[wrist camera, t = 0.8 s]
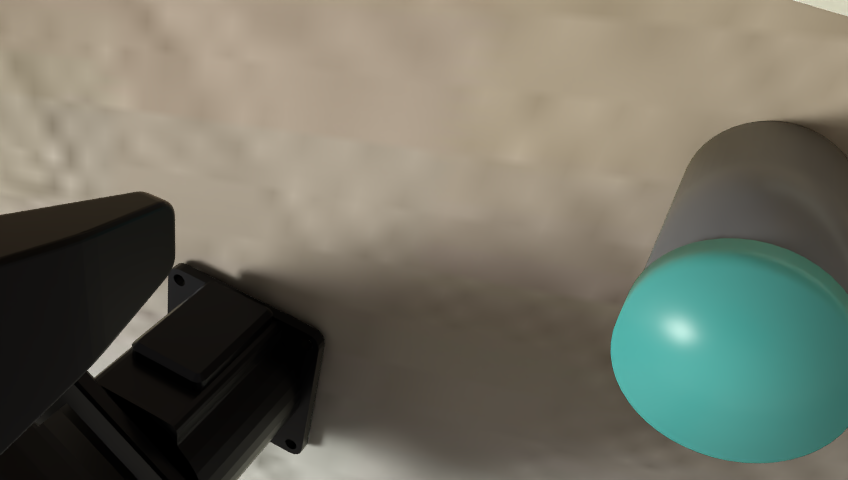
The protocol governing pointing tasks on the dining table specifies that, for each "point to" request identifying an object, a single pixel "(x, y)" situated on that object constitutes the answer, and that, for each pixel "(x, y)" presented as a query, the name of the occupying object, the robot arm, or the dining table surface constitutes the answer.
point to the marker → (745, 301)
